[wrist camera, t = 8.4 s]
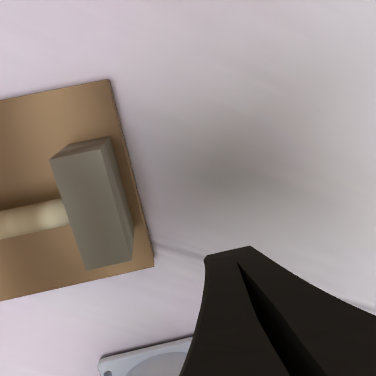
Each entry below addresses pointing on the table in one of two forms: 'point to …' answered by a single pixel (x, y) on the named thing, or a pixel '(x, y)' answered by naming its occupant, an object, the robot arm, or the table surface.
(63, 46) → the table surface
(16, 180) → the cord rig
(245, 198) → the table surface
